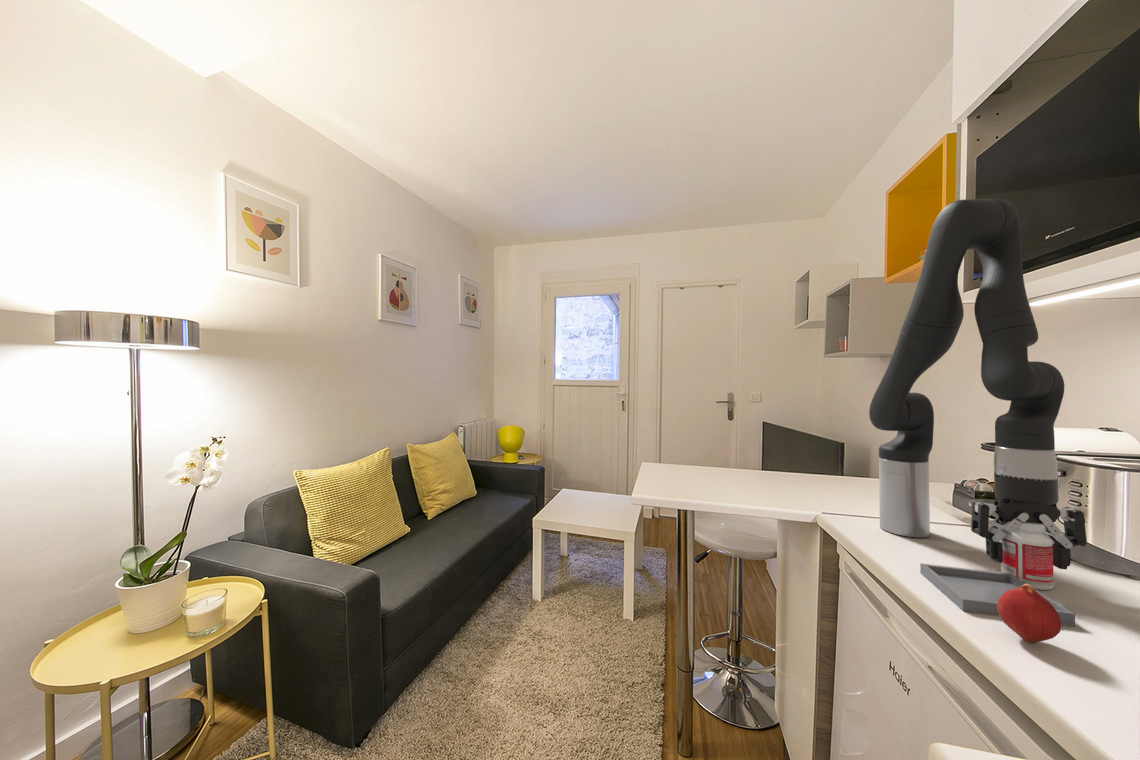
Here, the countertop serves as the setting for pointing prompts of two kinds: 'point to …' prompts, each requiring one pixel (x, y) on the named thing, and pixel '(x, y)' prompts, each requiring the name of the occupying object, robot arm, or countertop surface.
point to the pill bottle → (1029, 555)
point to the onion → (1029, 614)
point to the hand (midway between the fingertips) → (1026, 564)
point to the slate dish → (980, 589)
